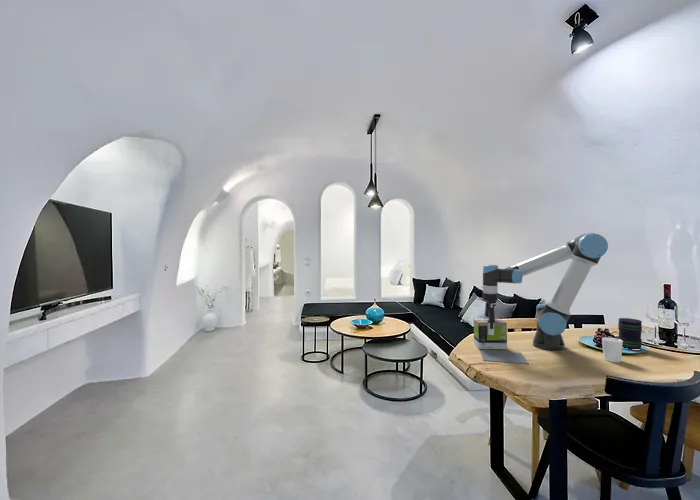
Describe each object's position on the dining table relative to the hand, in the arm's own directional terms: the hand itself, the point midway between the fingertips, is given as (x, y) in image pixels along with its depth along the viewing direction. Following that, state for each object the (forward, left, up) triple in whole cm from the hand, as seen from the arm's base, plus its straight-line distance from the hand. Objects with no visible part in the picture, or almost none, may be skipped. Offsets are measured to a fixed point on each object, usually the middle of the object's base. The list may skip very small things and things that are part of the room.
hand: (489, 331), depth 189 cm
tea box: (0, 0, -9) cm, 9 cm away
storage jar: (-72, -15, -9) cm, 74 cm away
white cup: (-54, +9, -9) cm, 56 cm away
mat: (-4, +16, -8) cm, 19 cm away
